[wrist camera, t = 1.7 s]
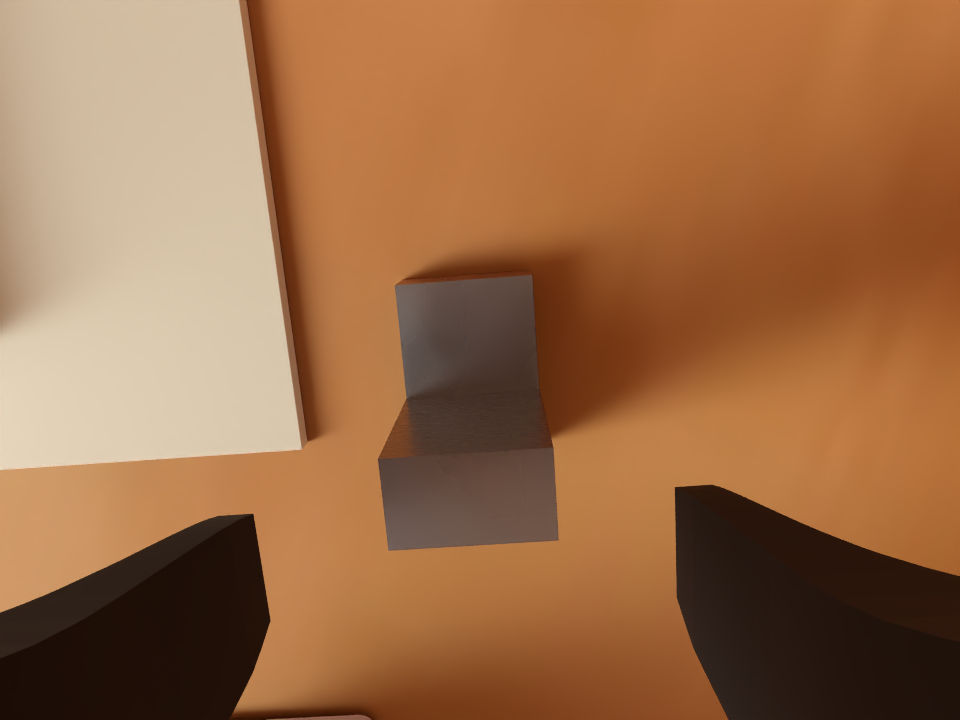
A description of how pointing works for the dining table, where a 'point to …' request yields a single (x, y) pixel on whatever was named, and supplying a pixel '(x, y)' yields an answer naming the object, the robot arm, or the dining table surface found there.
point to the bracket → (469, 418)
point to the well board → (138, 238)
